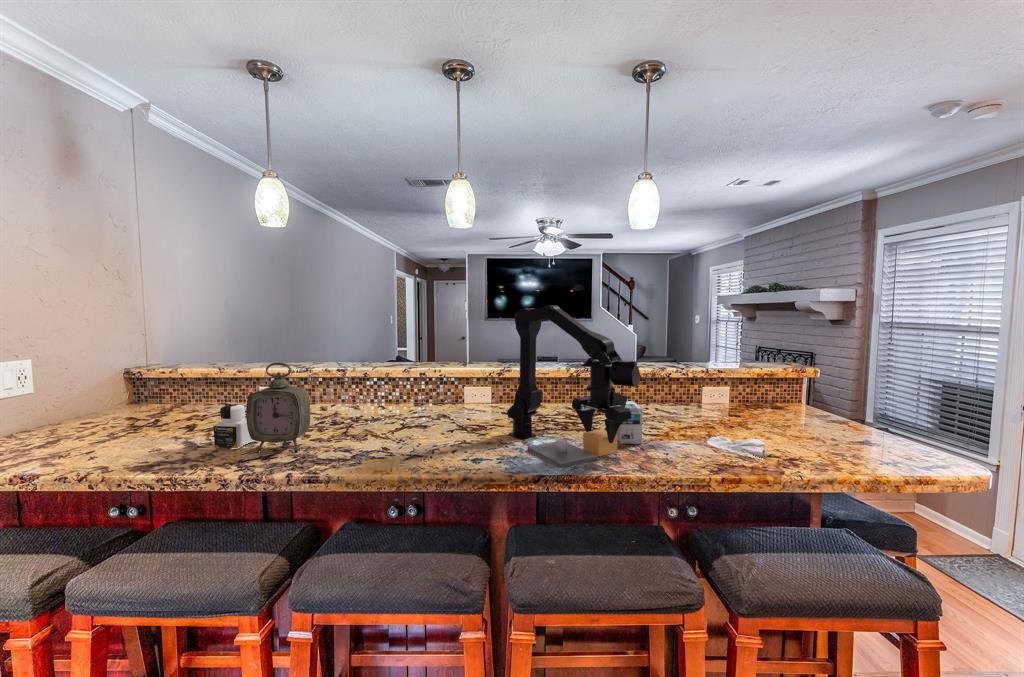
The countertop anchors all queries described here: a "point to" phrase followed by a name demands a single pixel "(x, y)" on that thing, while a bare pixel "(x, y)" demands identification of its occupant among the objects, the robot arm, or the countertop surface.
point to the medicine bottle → (231, 428)
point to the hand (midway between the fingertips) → (599, 438)
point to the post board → (562, 453)
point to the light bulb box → (631, 426)
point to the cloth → (740, 446)
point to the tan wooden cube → (599, 443)
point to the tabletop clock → (278, 412)
